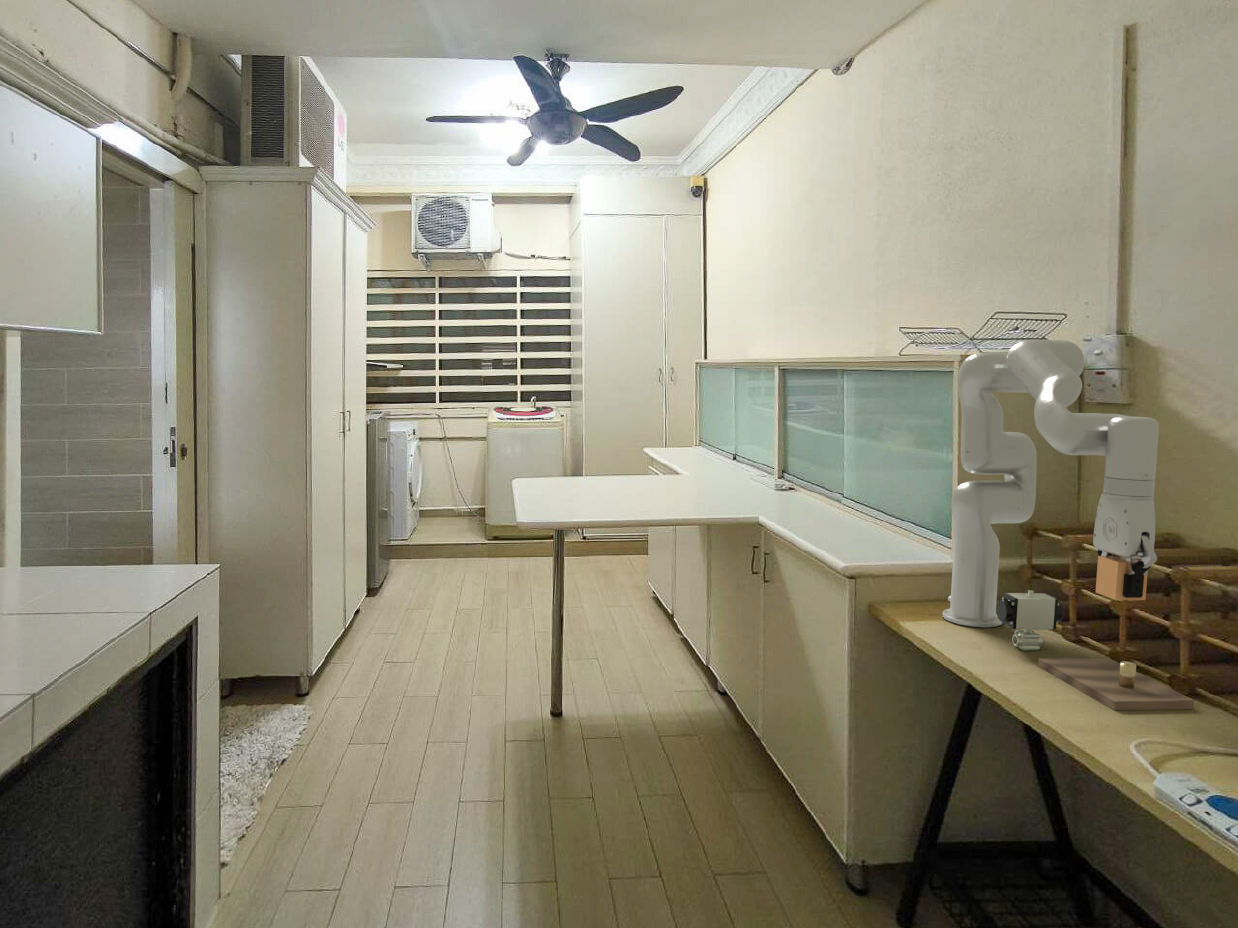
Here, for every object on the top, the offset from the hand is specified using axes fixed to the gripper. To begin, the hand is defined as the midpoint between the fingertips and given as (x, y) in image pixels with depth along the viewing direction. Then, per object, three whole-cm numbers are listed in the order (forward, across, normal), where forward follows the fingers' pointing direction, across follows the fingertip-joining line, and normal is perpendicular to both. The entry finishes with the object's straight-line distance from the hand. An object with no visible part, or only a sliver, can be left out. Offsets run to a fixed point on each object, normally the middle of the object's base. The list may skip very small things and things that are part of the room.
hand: (1120, 591), depth 151 cm
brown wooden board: (+18, -3, +2) cm, 18 cm away
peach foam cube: (+1, 0, 0) cm, 1 cm away
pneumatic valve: (+18, -25, -2) cm, 31 cm away
